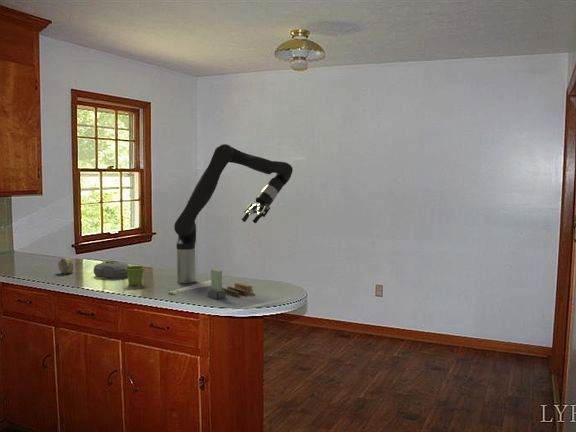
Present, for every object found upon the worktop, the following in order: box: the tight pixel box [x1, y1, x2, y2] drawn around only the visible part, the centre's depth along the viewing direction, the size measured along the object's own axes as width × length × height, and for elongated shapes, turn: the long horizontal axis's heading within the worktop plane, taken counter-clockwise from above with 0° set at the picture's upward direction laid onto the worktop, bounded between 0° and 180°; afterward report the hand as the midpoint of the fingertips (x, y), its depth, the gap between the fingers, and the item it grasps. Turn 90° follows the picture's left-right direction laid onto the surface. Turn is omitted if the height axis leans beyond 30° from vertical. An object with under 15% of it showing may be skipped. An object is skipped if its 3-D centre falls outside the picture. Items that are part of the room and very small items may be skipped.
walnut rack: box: [222, 285, 256, 299], centre depth 236 cm, size 10×14×3 cm
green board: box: [210, 268, 223, 292], centre depth 228 cm, size 2×6×12 cm, turn 42°
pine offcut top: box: [233, 282, 253, 291], centre depth 237 cm, size 3×10×2 cm, turn 42°
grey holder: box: [206, 288, 227, 300], centre depth 228 cm, size 5×8×4 cm, turn 42°
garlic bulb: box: [57, 256, 75, 275], centre depth 287 cm, size 9×8×10 cm
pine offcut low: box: [231, 285, 254, 296], centre depth 237 cm, size 4×12×2 cm, turn 42°
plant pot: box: [125, 265, 145, 287], centre depth 258 cm, size 9×9×9 cm
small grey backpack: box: [93, 260, 130, 280], centre depth 278 cm, size 15×8×20 cm
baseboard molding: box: [168, 279, 227, 296], centre depth 249 cm, size 31×3×12 cm
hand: (248, 221), depth 245 cm, fingers open, 8 cm apart
